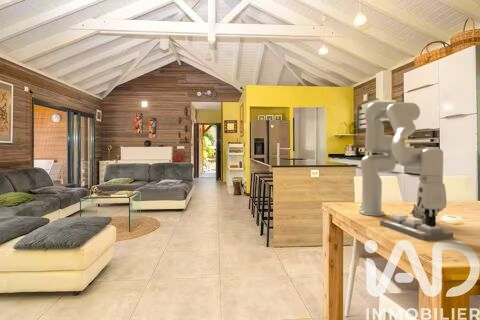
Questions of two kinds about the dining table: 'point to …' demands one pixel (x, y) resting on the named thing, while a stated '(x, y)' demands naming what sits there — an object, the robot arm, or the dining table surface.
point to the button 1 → (399, 216)
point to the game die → (418, 213)
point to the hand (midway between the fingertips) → (430, 225)
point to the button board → (416, 230)
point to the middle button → (414, 221)
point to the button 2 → (429, 227)
